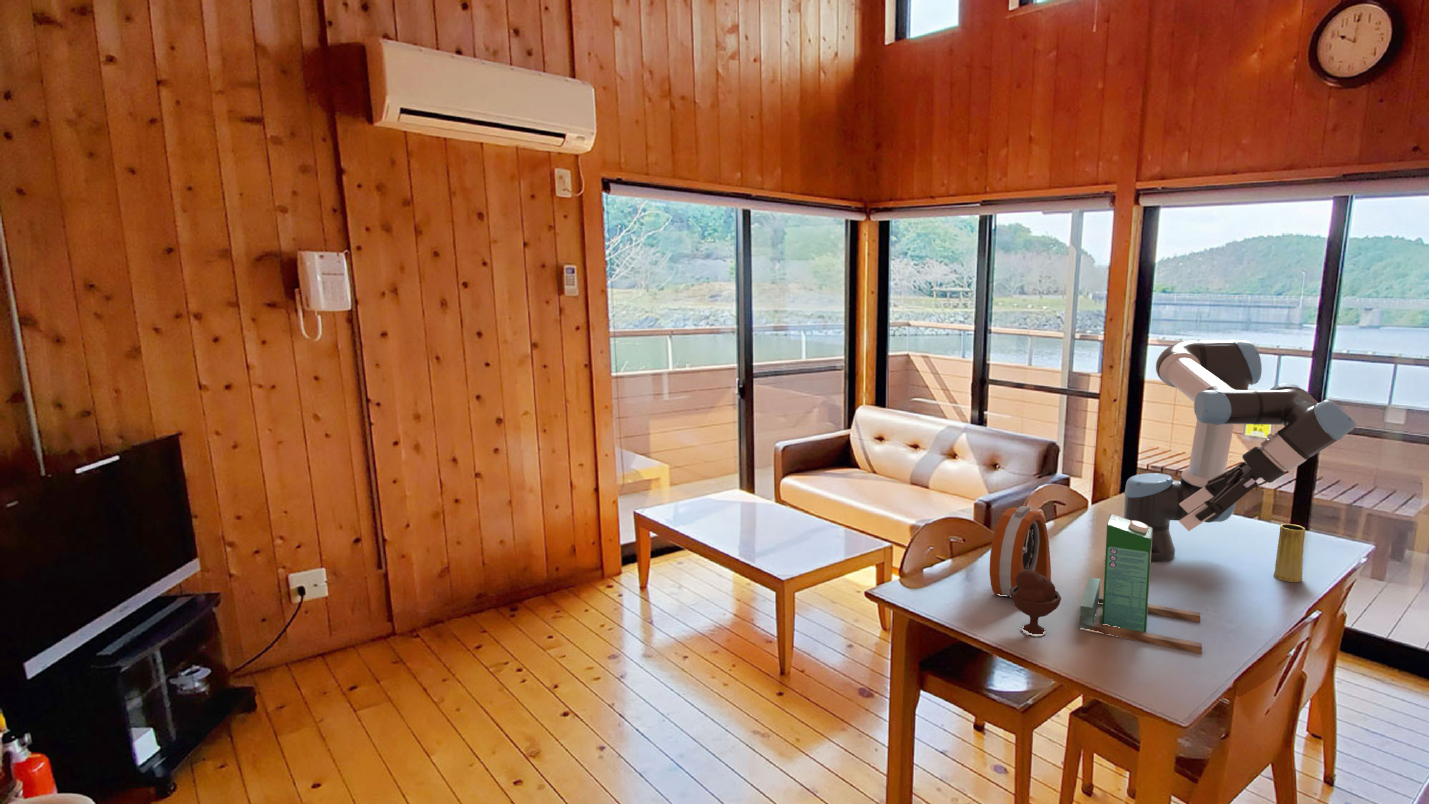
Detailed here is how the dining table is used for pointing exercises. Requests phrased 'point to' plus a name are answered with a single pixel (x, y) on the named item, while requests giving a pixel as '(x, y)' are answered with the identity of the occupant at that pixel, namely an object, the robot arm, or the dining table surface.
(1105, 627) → the track
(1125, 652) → the dining table surface
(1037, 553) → the alarm clock
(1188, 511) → the robot arm
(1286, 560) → the vase
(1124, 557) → the milk carton
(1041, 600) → the ice cream bowl
